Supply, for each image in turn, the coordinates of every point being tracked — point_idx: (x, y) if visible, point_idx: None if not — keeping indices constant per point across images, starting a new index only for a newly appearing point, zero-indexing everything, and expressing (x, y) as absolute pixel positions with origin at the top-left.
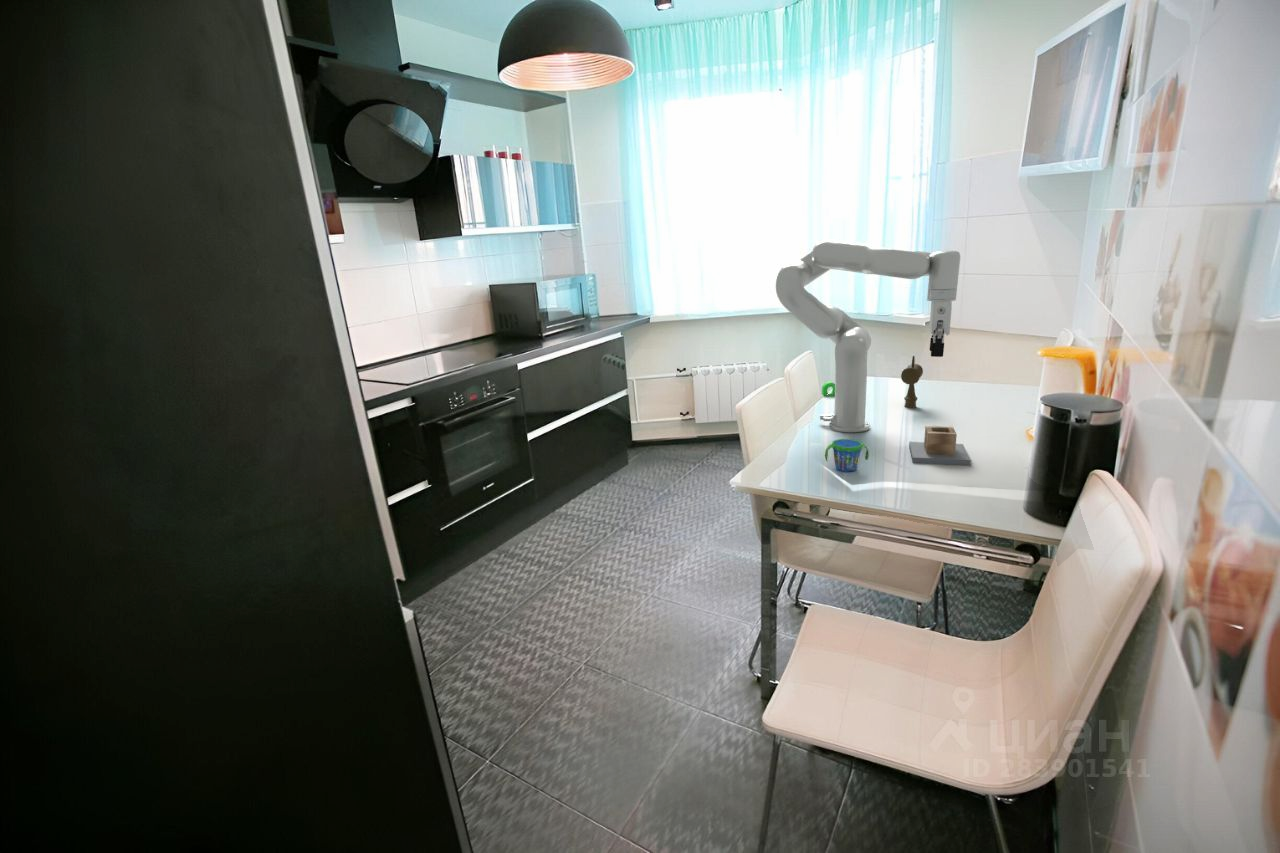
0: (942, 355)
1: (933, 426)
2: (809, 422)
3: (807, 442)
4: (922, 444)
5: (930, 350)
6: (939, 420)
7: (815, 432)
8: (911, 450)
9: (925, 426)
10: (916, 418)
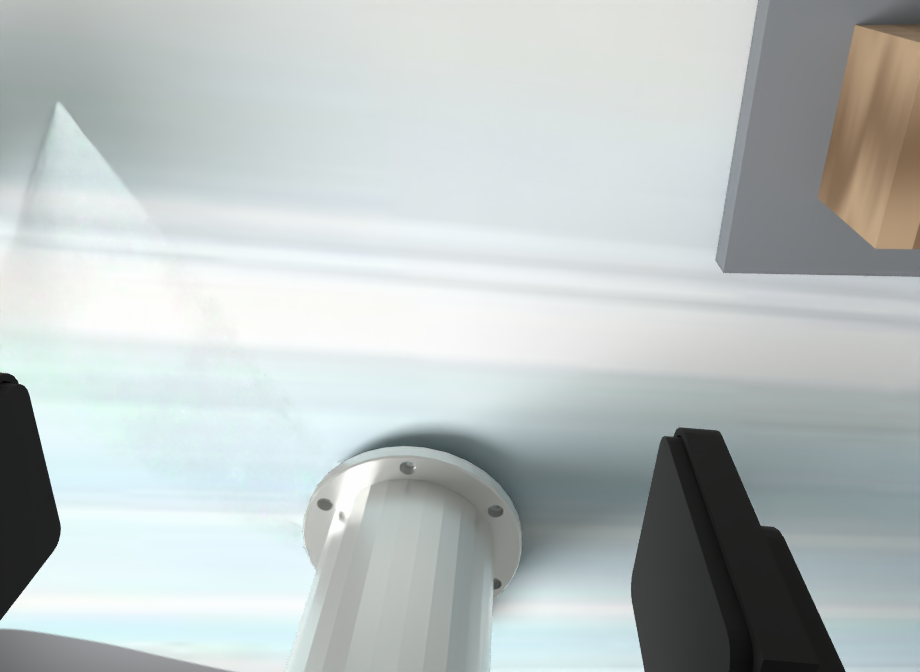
0: (722, 446)
1: (895, 193)
2: None
3: None
4: (783, 202)
5: (56, 534)
6: (51, 4)
7: None
8: (904, 275)
9: (888, 248)
10: (54, 161)
